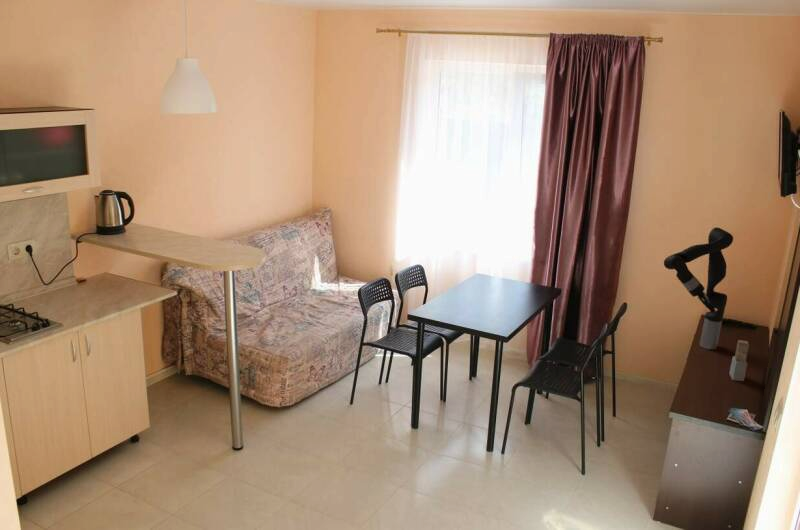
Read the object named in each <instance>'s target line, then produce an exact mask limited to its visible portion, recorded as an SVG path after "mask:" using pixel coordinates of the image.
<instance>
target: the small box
mask: <svg viewBox="0 0 800 530" xmlns="http://www.w3.org/2000/svg"><path fill="white" fill-rule="evenodd" d="M747 367H748V362H747V361H746V362H739V361H736V360H735V355H733V356H732V358H731V363H730V368H729V376H730V378H731V379H732V381H738V382H739V381H740V382H745V378H746V371H747Z"/></svg>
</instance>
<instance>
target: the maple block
mask: <svg viewBox="0 0 800 530" xmlns="http://www.w3.org/2000/svg"><path fill="white" fill-rule="evenodd" d="M749 347H750V344H749V342H748V340H739V339H738V340H737V345H736V349H735V353H734V354H735V355H734V356H735V360H736V361H739V362H747V357H748V352H749Z"/></svg>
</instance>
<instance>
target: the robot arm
mask: <svg viewBox="0 0 800 530" xmlns="http://www.w3.org/2000/svg"><path fill="white" fill-rule="evenodd" d="M707 242H708V243H701V244H694V245H691V246H689V247H686V248H684V249H682V250H681V251H679V252H677V253H674V254H670V255H669V256H667V257H666V258H665V259H664V261H663V266H664V267H665V268H666V269H667V270H675V271H676V278H677V279H678V280H679V281H680V283H681V284H682V285H683V287H684V288H685V290H686V291H687V292H688V293H689V294H690V295H691V297H693V298H695V297H697V299H698V300H700V301H701V303H702V305H704V306H705V308H707V309H708V310H709V311H707V312H705V315H704V321H703V324H702V331H701V336H700V341H699V346H700V347H701V348H703V349H706V350H711V349H712V350H716V349H717V348H718V343H719V338H720V333H721V327H722V325H723V324H722V322H723V318H724V314H725V309H726V305H727V302H728V295H727V294H725V293H723V292H717V291H715V288H716V286H717V285H718V284H720V283H721V282H722V281H723V280H724V279H725V278H726V275H727V261H726V259H725V257H724V254H723V252H722V250H725V249H727V248H729V247H730V246H731V245H732V243H733V242H734V235H732V233H730V232H728V231H726V230H725V229H723V228H720V227H714V228H711V230H710V232H709V233H708V240H707ZM705 255H708V264H707V285H706V292H705V286H704V285H703V284H702V283H701V282H700V280H699V279H698V278H697V277H696V276H694V274H693V273H692V272H691V271H690V270H689V268H688V266H687V264H688V263H691V262H692V261H695V260H697V259H698V258H701V257H703V256H705ZM716 309H717V310H716ZM712 350H711V351H712Z"/></svg>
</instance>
